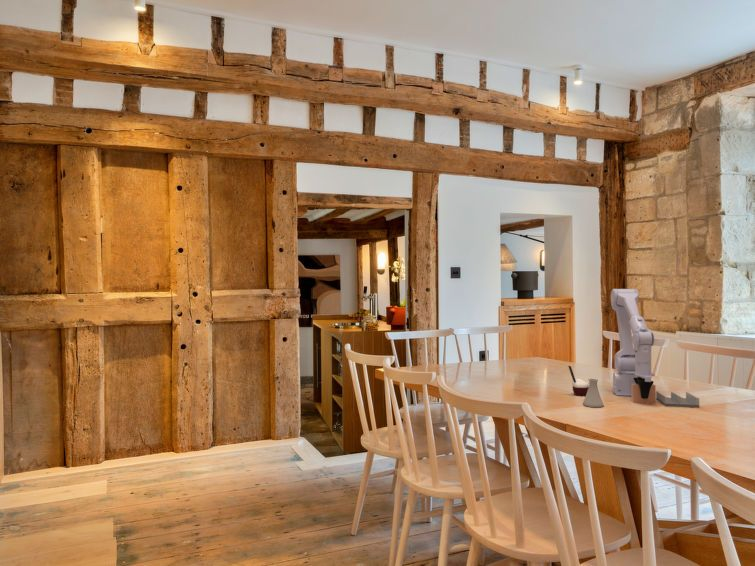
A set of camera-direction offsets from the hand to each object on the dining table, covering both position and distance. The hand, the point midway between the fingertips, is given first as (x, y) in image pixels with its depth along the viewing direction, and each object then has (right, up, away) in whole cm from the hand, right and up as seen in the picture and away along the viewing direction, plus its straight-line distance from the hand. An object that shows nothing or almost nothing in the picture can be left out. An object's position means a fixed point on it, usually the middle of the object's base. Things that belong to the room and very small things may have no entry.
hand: (643, 397), depth 215 cm
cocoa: (-19, -2, +14) cm, 24 cm away
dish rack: (+12, -2, -3) cm, 12 cm away
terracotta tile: (0, -2, 0) cm, 2 cm away
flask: (-22, -2, -6) cm, 22 cm away
